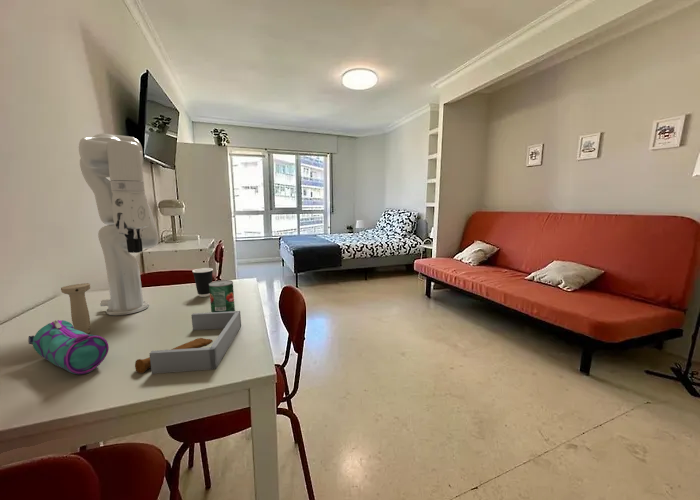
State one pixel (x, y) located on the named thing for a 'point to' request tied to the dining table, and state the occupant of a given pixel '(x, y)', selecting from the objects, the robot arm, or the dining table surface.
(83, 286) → the handle
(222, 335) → the box
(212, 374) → the dining table surface
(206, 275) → the dixie cup
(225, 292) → the canned tomato
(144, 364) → the primitive tool
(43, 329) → the pencil case
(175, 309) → the dining table surface
